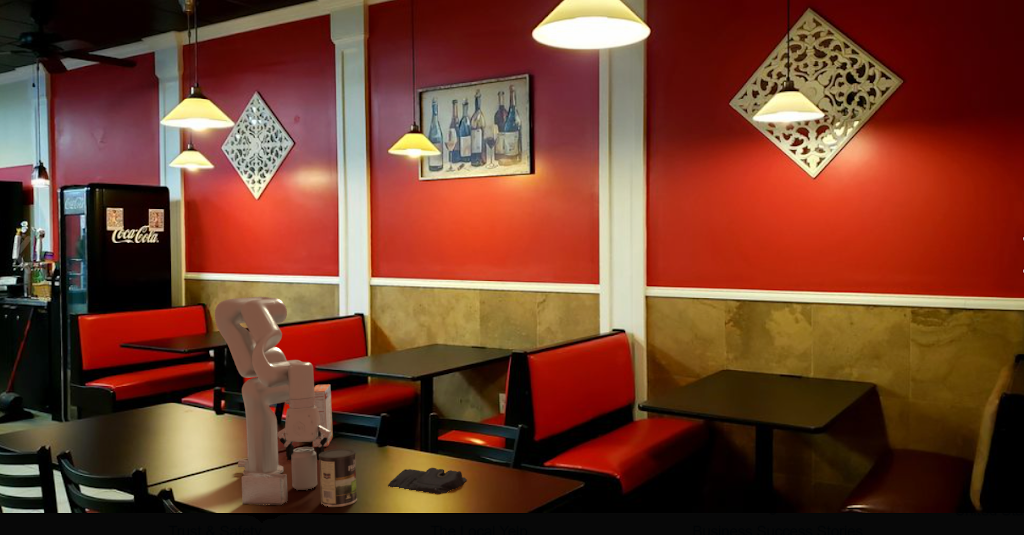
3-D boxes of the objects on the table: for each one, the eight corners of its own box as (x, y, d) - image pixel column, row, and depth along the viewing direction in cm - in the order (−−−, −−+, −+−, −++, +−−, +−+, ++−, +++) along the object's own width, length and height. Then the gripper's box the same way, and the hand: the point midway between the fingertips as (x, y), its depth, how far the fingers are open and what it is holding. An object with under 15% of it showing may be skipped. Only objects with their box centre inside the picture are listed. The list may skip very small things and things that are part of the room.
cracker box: (317, 438, 306) (315, 384, 305) (333, 437, 306) (331, 383, 306) (311, 447, 292) (309, 391, 291) (328, 447, 292) (326, 390, 292)
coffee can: (360, 495, 234) (358, 447, 234) (352, 507, 224) (351, 457, 224) (325, 496, 235) (323, 448, 234) (316, 507, 224) (314, 458, 224)
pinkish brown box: (242, 504, 229) (241, 476, 229) (249, 499, 233) (248, 472, 233) (280, 506, 227) (279, 478, 226) (287, 501, 230) (286, 474, 230)
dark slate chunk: (412, 474, 256) (411, 460, 256) (471, 482, 246) (470, 467, 246) (383, 488, 242) (383, 472, 242) (444, 496, 232) (444, 480, 232)
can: (310, 492, 239) (309, 452, 239) (287, 491, 240) (286, 451, 240) (321, 484, 246) (320, 446, 246) (299, 483, 248) (297, 445, 247)
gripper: (270, 406, 240) (273, 462, 241) (323, 405, 237) (326, 462, 237) (282, 401, 248) (285, 456, 248) (334, 400, 244) (337, 456, 244)
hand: (305, 459), depth 243 cm, fingers open, 9 cm apart
